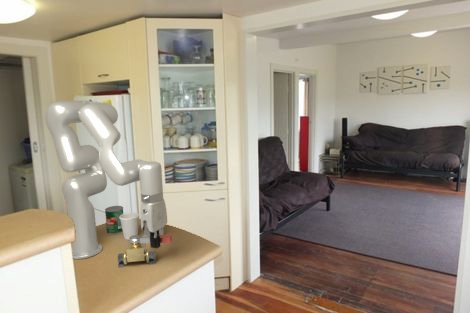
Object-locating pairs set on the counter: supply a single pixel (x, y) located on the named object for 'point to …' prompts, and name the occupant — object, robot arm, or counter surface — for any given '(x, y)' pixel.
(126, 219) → the dixie cup
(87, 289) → the counter surface
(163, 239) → the lever
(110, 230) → the canned tomato
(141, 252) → the valve body
